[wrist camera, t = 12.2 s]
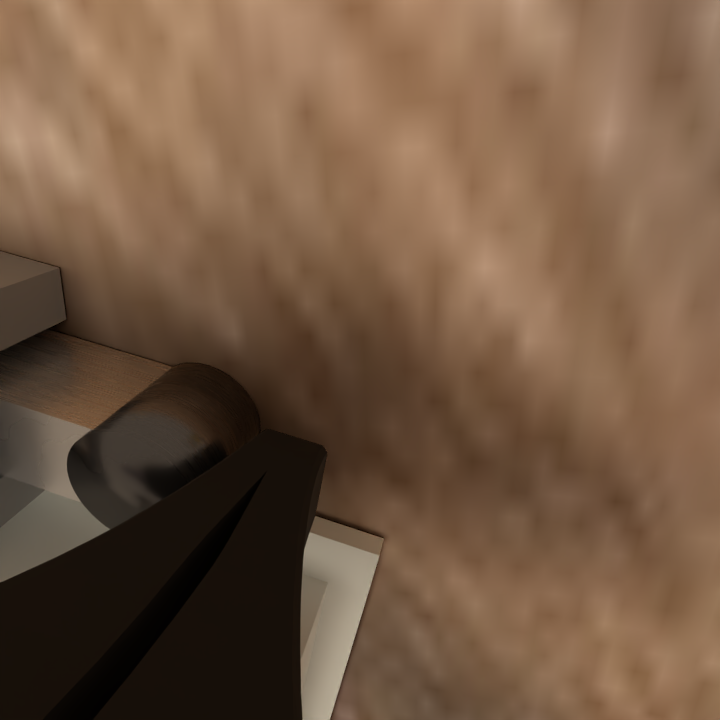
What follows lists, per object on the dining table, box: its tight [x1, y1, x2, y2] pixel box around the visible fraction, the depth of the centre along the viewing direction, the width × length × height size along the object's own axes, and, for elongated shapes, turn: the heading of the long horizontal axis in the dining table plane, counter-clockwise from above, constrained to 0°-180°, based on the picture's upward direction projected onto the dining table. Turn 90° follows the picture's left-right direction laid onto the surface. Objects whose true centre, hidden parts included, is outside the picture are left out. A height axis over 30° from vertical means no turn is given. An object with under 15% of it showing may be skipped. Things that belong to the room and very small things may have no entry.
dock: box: [0, 251, 384, 720], centre depth 13 cm, size 12×19×4 cm, turn 169°
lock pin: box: [0, 329, 260, 529], centre depth 10 cm, size 8×3×3 cm, turn 79°
